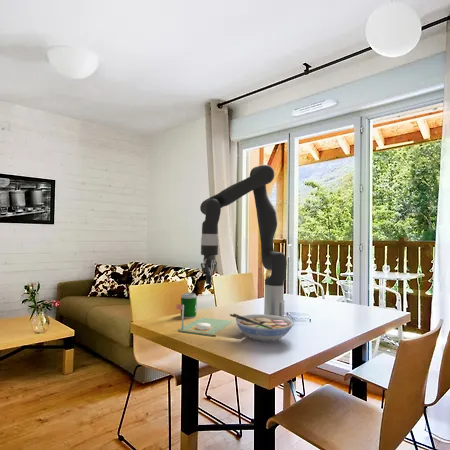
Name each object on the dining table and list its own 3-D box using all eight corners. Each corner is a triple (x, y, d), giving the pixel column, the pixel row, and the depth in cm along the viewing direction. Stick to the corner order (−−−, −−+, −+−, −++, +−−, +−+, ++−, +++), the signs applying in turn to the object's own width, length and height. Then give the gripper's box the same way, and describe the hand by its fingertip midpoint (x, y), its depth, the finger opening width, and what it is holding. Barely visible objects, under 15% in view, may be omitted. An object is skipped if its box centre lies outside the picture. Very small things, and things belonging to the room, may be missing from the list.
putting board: (233, 323, 161) (234, 299, 162) (213, 337, 139) (214, 308, 139) (199, 319, 168) (200, 296, 168) (174, 331, 145) (175, 304, 146)
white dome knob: (212, 329, 150) (212, 323, 150) (207, 333, 144) (207, 326, 144) (199, 328, 152) (199, 322, 152) (194, 331, 146) (194, 325, 146)
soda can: (193, 321, 164) (194, 295, 165) (178, 319, 166) (179, 294, 166) (198, 317, 172) (198, 292, 172) (183, 316, 173) (184, 292, 174)
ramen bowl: (308, 343, 133) (308, 322, 134) (261, 353, 121) (261, 329, 121) (266, 328, 154) (266, 309, 155) (222, 335, 142) (222, 315, 142)
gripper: (211, 244, 147) (210, 286, 146) (222, 244, 159) (222, 282, 158) (195, 244, 149) (194, 285, 149) (207, 243, 162) (207, 281, 161)
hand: (208, 283), depth 154 cm, fingers closed
